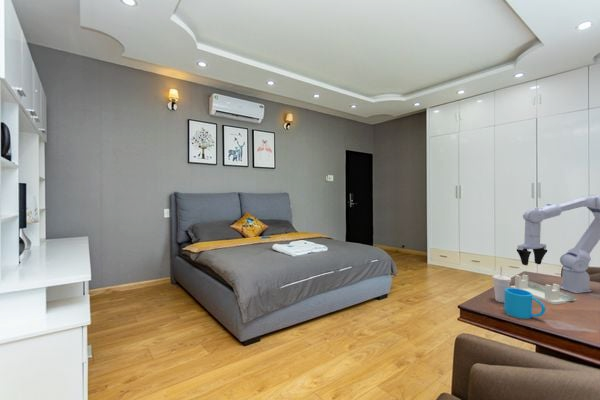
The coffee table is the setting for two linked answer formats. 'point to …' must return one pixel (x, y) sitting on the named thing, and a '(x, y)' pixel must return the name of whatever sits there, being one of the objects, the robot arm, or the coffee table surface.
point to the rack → (549, 295)
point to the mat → (559, 298)
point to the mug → (520, 303)
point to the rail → (542, 288)
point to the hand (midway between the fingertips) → (531, 264)
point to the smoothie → (500, 286)
